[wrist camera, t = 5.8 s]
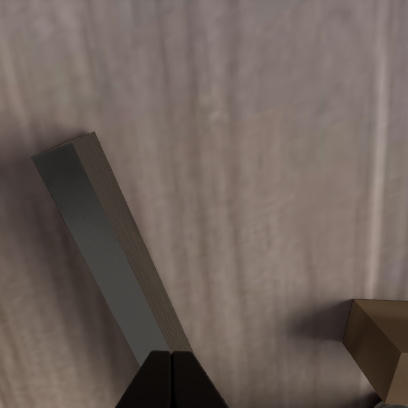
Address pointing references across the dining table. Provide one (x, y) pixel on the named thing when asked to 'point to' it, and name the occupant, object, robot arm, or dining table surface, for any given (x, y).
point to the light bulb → (390, 405)
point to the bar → (111, 244)
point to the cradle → (380, 346)
